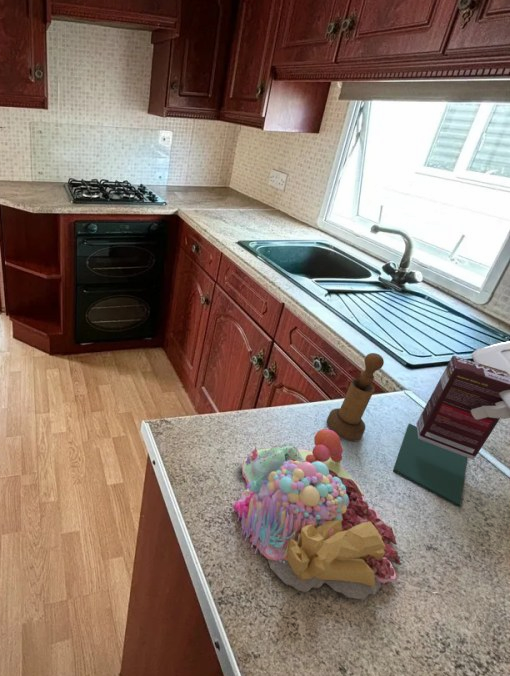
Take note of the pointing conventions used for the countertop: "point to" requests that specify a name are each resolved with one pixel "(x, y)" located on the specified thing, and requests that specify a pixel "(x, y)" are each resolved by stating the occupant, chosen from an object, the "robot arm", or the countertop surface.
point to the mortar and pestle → (355, 402)
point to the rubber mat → (431, 466)
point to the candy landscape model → (315, 520)
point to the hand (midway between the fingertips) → (464, 401)
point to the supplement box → (462, 407)
